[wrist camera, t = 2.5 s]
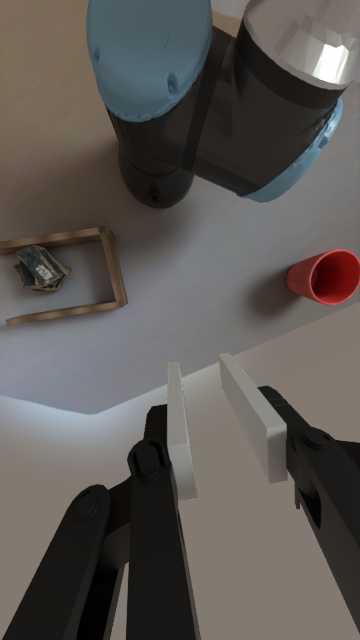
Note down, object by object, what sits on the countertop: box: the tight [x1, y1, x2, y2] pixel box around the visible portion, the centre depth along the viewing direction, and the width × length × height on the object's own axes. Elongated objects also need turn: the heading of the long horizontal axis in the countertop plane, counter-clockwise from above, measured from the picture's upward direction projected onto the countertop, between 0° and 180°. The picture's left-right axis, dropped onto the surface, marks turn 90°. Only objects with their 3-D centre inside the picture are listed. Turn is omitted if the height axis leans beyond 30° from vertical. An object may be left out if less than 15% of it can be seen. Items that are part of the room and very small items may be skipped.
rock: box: [14, 245, 71, 291], centre depth 38 cm, size 9×9×6 cm
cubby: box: [0, 226, 128, 325], centre depth 39 cm, size 24×16×5 cm, turn 99°
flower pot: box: [287, 249, 360, 305], centre depth 40 cm, size 11×11×10 cm
